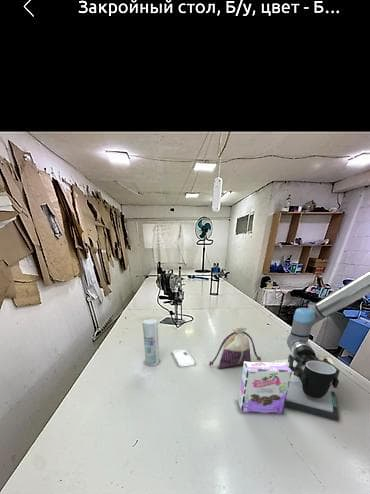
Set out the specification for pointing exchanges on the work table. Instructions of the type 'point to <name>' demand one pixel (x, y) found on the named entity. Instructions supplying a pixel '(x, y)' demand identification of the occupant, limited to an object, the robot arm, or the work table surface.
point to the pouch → (235, 349)
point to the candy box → (264, 387)
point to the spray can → (151, 341)
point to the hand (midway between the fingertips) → (320, 382)
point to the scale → (311, 402)
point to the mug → (318, 378)
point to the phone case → (183, 358)
